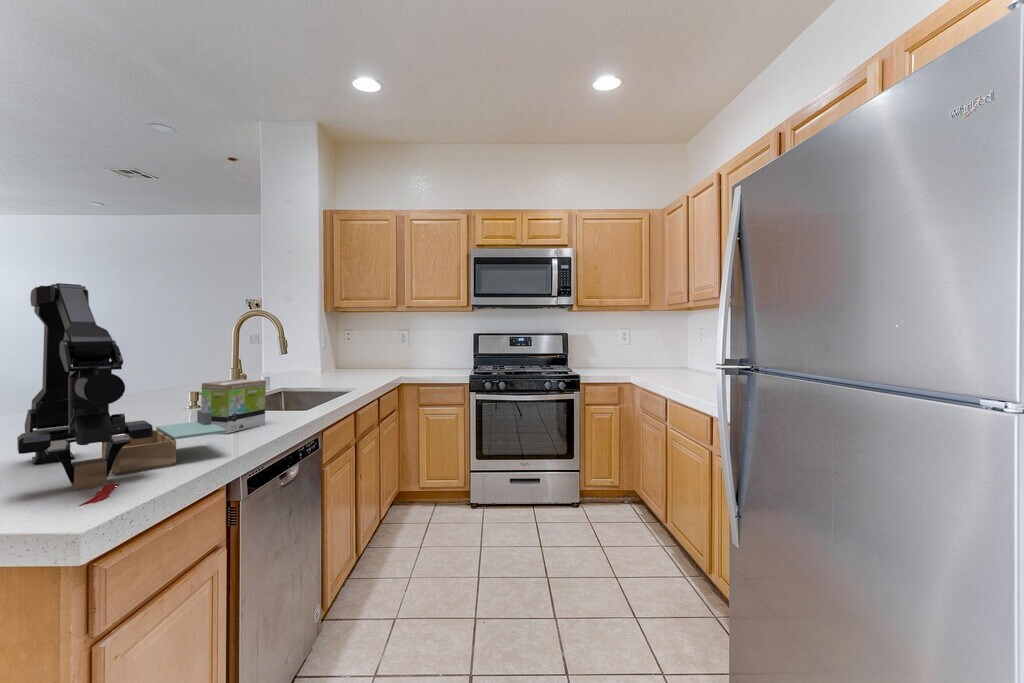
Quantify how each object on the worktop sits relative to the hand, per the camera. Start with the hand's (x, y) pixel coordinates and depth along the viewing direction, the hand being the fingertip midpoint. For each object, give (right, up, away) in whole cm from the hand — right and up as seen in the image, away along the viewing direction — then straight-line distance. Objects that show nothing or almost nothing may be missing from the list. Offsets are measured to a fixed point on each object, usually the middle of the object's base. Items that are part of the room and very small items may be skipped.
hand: (89, 479), depth 88 cm
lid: (+4, +5, +23) cm, 23 cm away
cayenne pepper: (+7, -2, -5) cm, 9 cm away
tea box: (-4, 0, +52) cm, 52 cm away
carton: (-3, -1, +15) cm, 15 cm away
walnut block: (0, -1, 0) cm, 1 cm away
